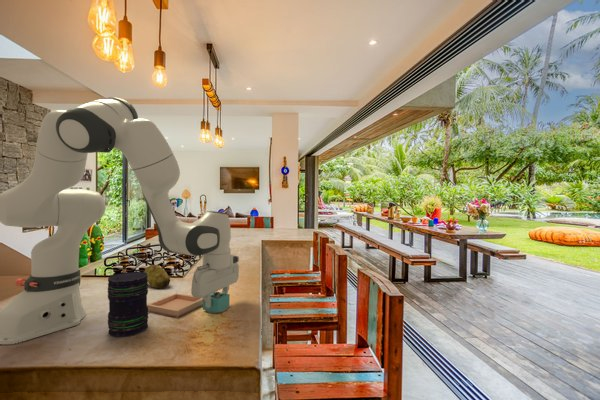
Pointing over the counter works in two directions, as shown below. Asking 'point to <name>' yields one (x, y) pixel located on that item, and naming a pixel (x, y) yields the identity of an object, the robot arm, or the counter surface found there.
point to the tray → (175, 305)
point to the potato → (157, 276)
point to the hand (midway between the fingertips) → (216, 303)
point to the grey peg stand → (216, 295)
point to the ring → (218, 303)
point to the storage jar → (127, 304)
